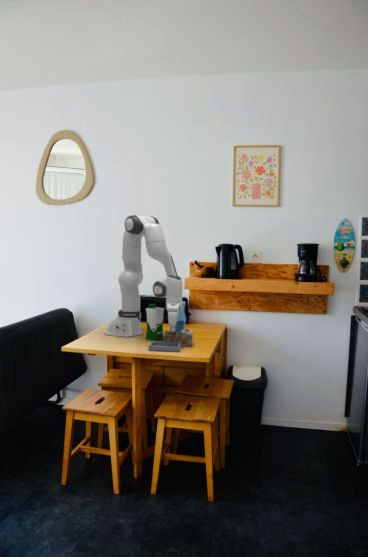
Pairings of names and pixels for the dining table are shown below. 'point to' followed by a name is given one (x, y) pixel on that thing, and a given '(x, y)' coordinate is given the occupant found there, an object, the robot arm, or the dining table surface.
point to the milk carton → (154, 322)
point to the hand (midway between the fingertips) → (173, 330)
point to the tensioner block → (179, 337)
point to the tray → (165, 346)
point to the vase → (180, 319)
